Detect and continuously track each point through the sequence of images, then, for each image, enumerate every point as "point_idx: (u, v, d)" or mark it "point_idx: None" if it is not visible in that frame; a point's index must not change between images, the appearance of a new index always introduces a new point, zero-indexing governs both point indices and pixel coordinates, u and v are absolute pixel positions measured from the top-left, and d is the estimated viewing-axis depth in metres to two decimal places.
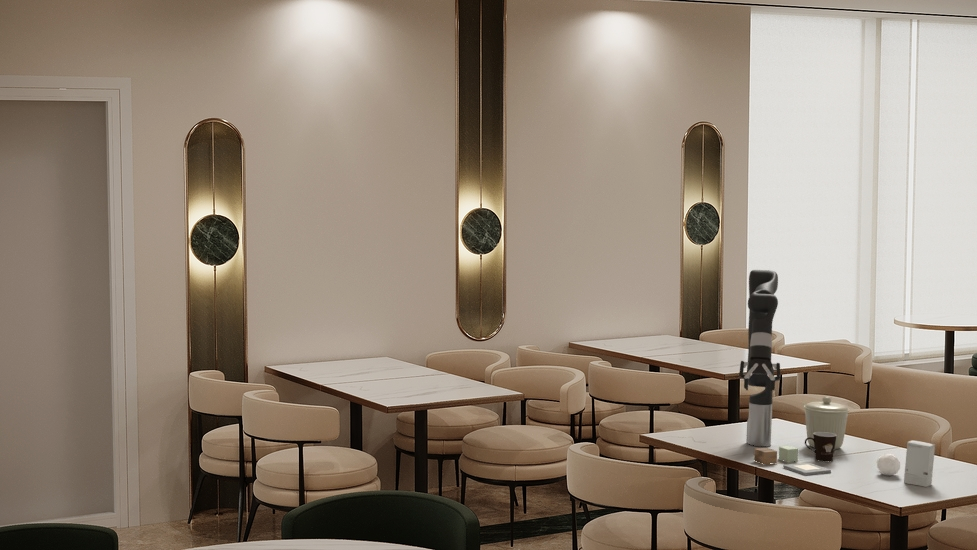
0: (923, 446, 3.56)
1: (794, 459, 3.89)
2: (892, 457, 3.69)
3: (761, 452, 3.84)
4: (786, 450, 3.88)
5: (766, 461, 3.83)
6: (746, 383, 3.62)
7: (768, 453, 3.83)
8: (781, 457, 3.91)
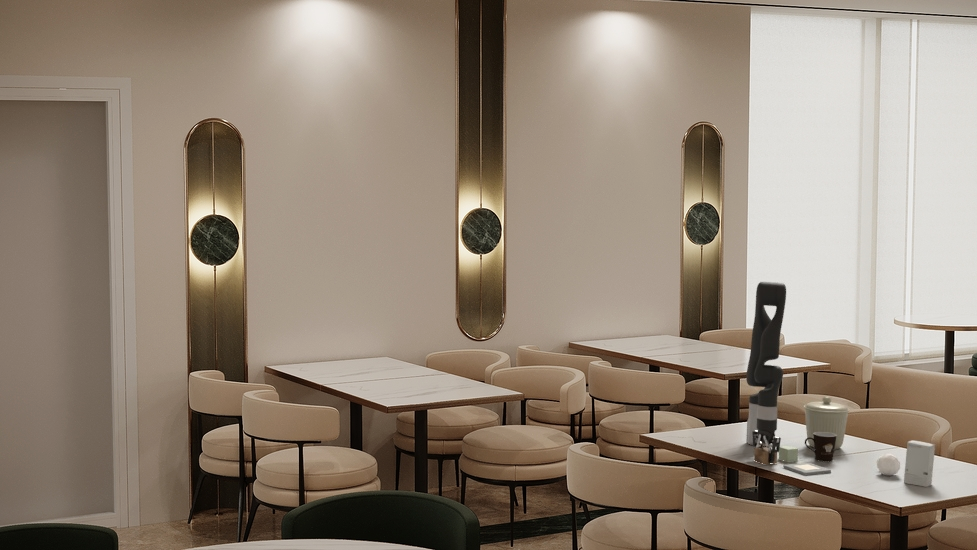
0: (923, 446, 3.56)
1: (794, 459, 3.89)
2: (892, 457, 3.69)
3: (761, 452, 3.84)
4: (786, 450, 3.89)
5: (766, 461, 3.83)
6: None
7: (768, 453, 3.83)
8: (781, 457, 3.91)
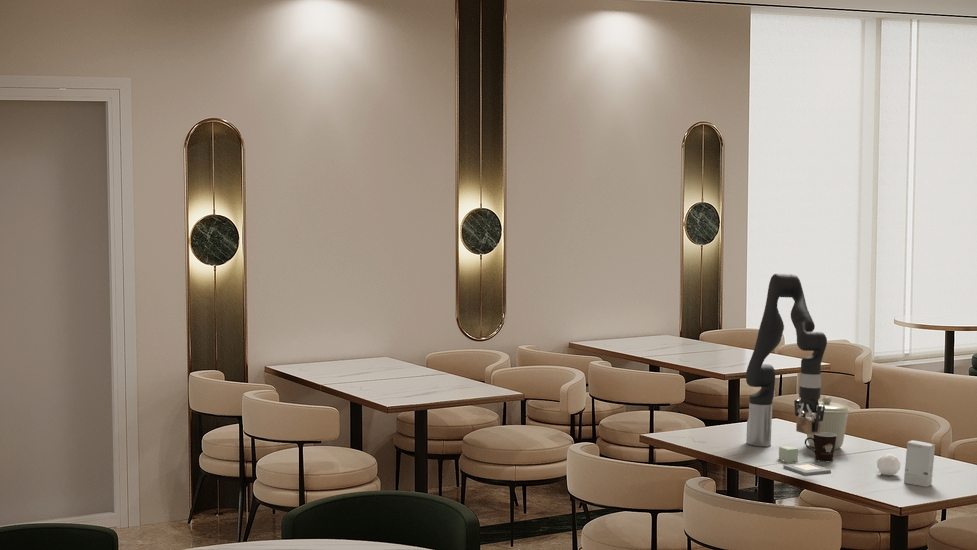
0: (923, 446, 3.56)
1: (794, 459, 3.89)
2: (892, 457, 3.69)
3: (804, 421, 3.73)
4: (786, 450, 3.88)
5: (809, 430, 3.72)
6: None
7: (811, 422, 3.72)
8: (781, 457, 3.91)
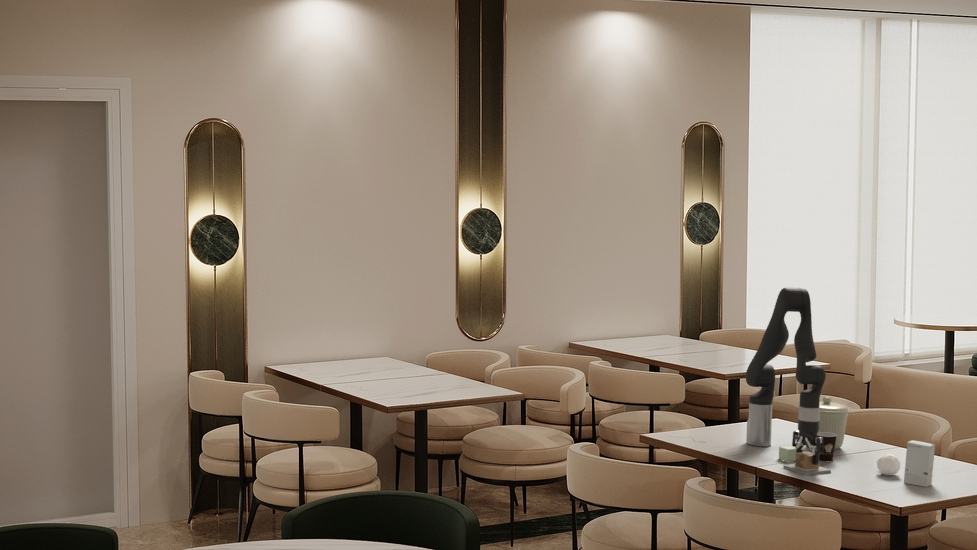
0: (923, 446, 3.56)
1: (794, 459, 3.89)
2: (892, 457, 3.69)
3: (803, 456, 3.73)
4: (786, 450, 3.89)
5: (808, 466, 3.72)
6: None
7: (810, 457, 3.73)
8: (781, 457, 3.91)
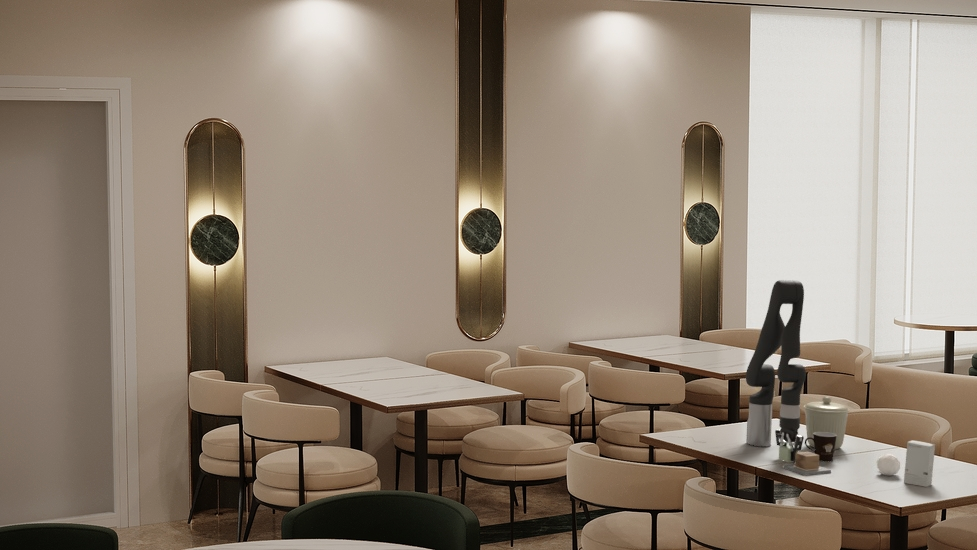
0: (923, 446, 3.56)
1: None
2: (892, 457, 3.69)
3: (803, 456, 3.73)
4: (786, 450, 3.88)
5: (808, 466, 3.72)
6: None
7: (810, 457, 3.73)
8: (781, 457, 3.91)
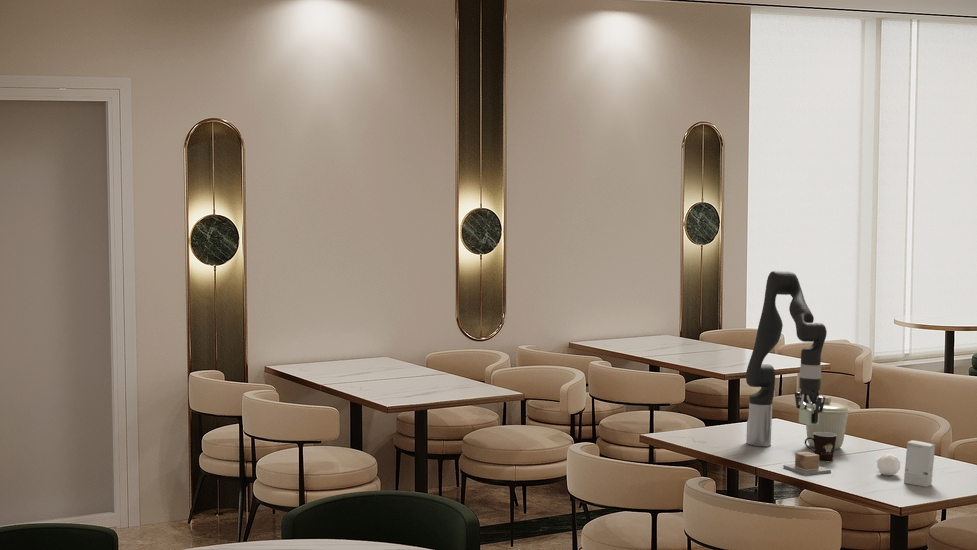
0: (923, 446, 3.56)
1: None
2: (892, 457, 3.69)
3: (803, 456, 3.73)
4: (807, 412, 3.72)
5: (808, 466, 3.72)
6: None
7: (810, 457, 3.73)
8: (801, 420, 3.75)
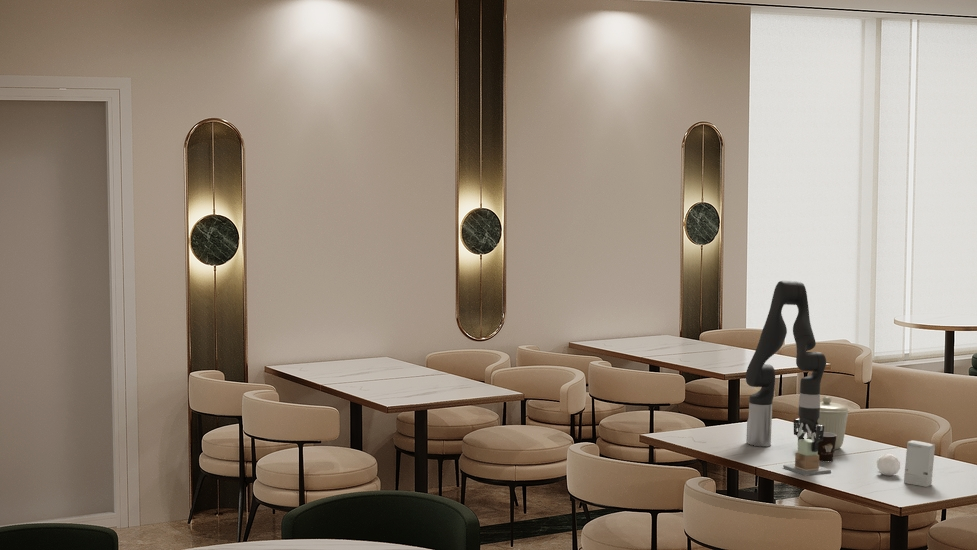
0: (923, 446, 3.56)
1: (814, 452, 3.74)
2: (892, 457, 3.69)
3: (803, 456, 3.73)
4: (806, 443, 3.73)
5: (808, 466, 3.72)
6: None
7: (810, 457, 3.73)
8: (800, 450, 3.75)
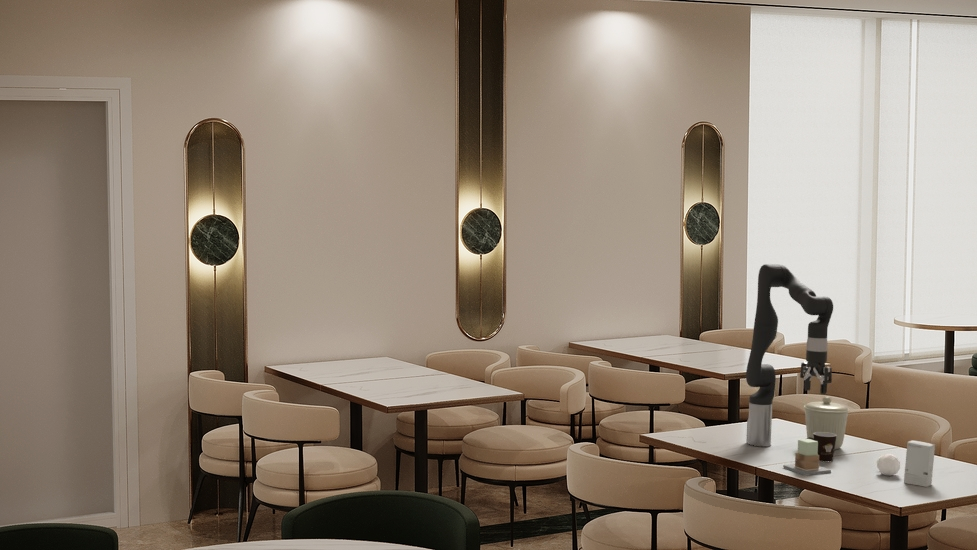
0: (923, 446, 3.56)
1: (814, 452, 3.74)
2: (892, 457, 3.69)
3: (803, 456, 3.73)
4: (806, 443, 3.73)
5: (808, 466, 3.72)
6: (804, 384, 3.85)
7: (810, 457, 3.73)
8: (800, 450, 3.75)
